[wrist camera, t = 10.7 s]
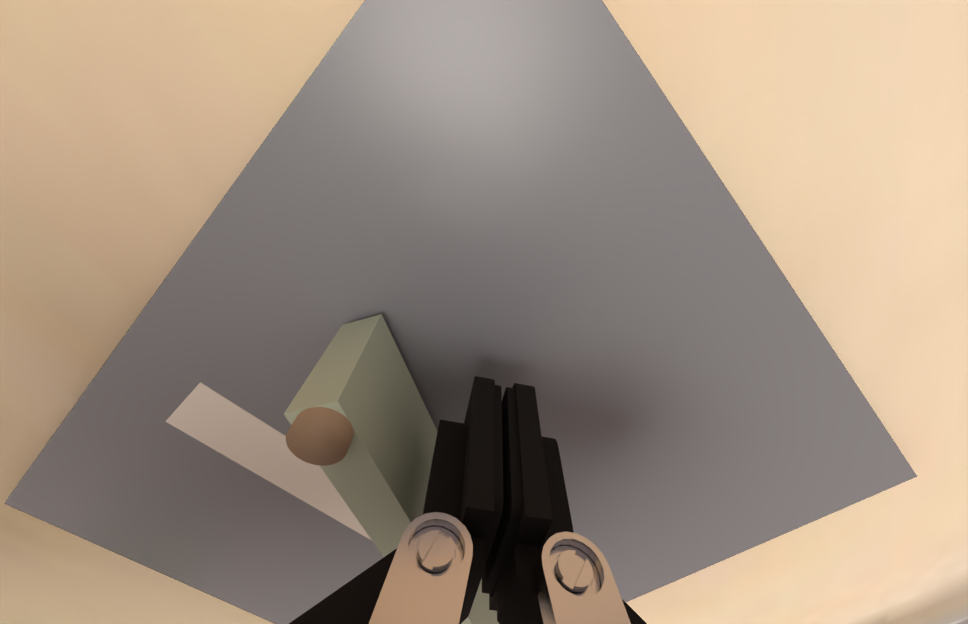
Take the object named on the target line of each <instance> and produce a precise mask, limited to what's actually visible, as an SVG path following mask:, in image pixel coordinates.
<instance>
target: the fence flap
mask: <svg viewBox="0 0 968 624" xmlns="http://www.w3.org/2000/svg"><path fill="white" fill-rule="evenodd" d="M284 415H285V417H286V418H287V420H288V421H289V423H290V424H291V427H290V428H289V430H288V432H287V434H286V444H287V446H288V448H289V450H290V451H291V452H292V453H293V454H294V455H295V456H296V457H297V458H299V459H300V460H302V461H304V462H307V463H310V464H313V465H319V466H320V467H321V468H322V470H323V471H324V473H325V474H326V476H327V477H328V478H329V480H330V481H331V483H332V484H333V486H334V487H335V488H336V490H337V491H338V493H339V494H340V496H341V497H342V498H343V500H344V501H345V503H346V504H347V506H348V507H349V508H350V510H351V511H352V513H353V514H354V516H355V517H356V518H357V520H358V521H359V523H360V524H361V526H362V527H363V528H364V530H365V531H366V533H367V534H368V536H369V537H370V538H371V540H372V541H373V543H374V544H375V546H376V547H377V548H378V550H379V551H380V553H381V554H382V556H383V557H385V556H386V555H388V554H389V553H391V552H392V551H394V550H395V549H396V548H398V545H399V542H400V540H401V537H402V535H403V533H404V531H405V529H406V528H407V526H408V525H409V524H410V523H411V522H412V521H413V520H414V519H415V518H417V517H419V516H421V515H423V509H424V503H425V498H426V492H427V486H428V481H429V475H430V469H431V464H432V458H433V453H434V447H435V442H436V437H437V432H438V431H437V429H436V427H435V425H434V423H433V421H432V419H431V417H430V415H429V412H428V410H427V408H426V406H425V404H424V402H423V400H422V398H421V396H420V394H419V392H418V389H417V387H416V385H415V383H414V381H413V379H412V377H411V375H410V373H409V371H408V368H407V366H406V364H405V362H404V360H403V358H402V356H401V354H400V352H399V350H398V348H397V345H396V343H395V341H394V339H393V337H392V335H391V333H390V331H389V329H388V327H387V324H386V322H385V320H384V318H383V316H382V314H380V315H377V316H373V317H369V318H365V319H362V320H358V321H354V322H351V323H347V324H343V325H342V326H341V327H340V329H339V330H338V332H337V333H336V335H335V336H334V338H333V340H332V341H331V343H330V344H329V346H328V347H327V349H326V350H325V352H324V353H323V355H322V356H321V358H320V359H319V361H318V362H317V364H316V365H315V367H314V368H313V370H312V372H311V373H310V375H309V376H308V378H307V379H306V381H305V382H304V384H303V385H302V387H301V388H300V390H299V391H298V393H297V394H296V396H295V397H294V399H293V400H292V402H291V403H290V405H289V407H288V408H287V410H286V411H285V413H284ZM461 624H499V622H498V621H497V611H494V610H489V594H486V593H482V579H481V581H480V584H479V587H478V590H477V593H476V596H475V599H474V602H473V605H472V608H471V610H470V613H469V616H468V617H467V618H466V619H465V620H464V621H463V622H462V623H461Z"/></svg>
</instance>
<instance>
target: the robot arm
mask: <svg viewBox="0 0 968 624" xmlns="http://www.w3.org/2000/svg"><path fill="white" fill-rule="evenodd" d="M481 579H482V593H486V594H489V610H494V611H497V621H498V622H499V624H647V623H646V622H645V621H644V620H643V619H642V618H641V617H640V616H639V615H638V614H637V613H636V612H635V611H634V610H633V609H632V608H631V607H630V606H629V605H628V604H627V603H626V602H625V601H624V600H623V599H622V598H621V596H620V593H619V590H618V588H617V585H616V582H615V580H614V577H613V575H612V572H611V569H610V567H609V564H608V562H607V560H606V559H605V557H604V555H603V553H602V552H601V551H600V550H599V549H598V547H597V546H596V545H595V544H594V543H592V542H591V541H590V540H588V539H587V538H586V537H583V536H581V535H579V534H577V533H574V531H573V525H572V520H571V514H570V509H569V503H568V497H567V492H566V486H565V481H564V475H563V470H562V464H561V459H560V453H559V448H558V443H557V441H556V439H554V438H548V437H542V436H541V429H540V421H539V414H538V407H537V399H536V392H535V387H534V386H529V385H523V384H518V383H514V385H513V387H512V388H510V387H506V389H505V392H504V395H503V399H502V391H501V386H499V385H495V380H494V379H489V378H483V377H478V376H475V378H474V382H473V386H472V390H471V395H470V399H469V403H468V407H467V412H466V416H465V420H464V423H458V422H452V421H446V420H440V421H439V426H438V432H437V437H436V442H435V447H434V453H433V458H432V464H431V469H430V475H429V481H428V486H427V492H426V498H425V503H424V509H423V515H421V516H419V517H417V518H415V519H414V520H413V521H412V522H411V523H410V524H409V525H408V526H407V528H406V529H405V531H404V533H403V535H402V537H401V540H400V542H399V545H398V548H396V549H395V550H394V551H392V552H391V553H389V554H388V555H386V556H385V557H384V558H382V559H381V560H379V561H378V562H376V563H375V564H373V565H372V566H371V567H369V568H368V569H366V570H365V571H363V572H362V573H361V574H359V575H358V576H356V577H355V578H353V579H352V580H351V581H349V582H348V583H346V584H345V585H343V586H342V587H341V588H339V589H338V590H336V591H335V592H333V593H332V594H331V595H329V596H328V597H326V598H325V599H323V600H322V601H320V602H319V603H318V604H316V605H315V606H313V607H312V608H310V609H309V610H308V611H306V612H305V613H303V614H302V615H300V616H299V617H298V618H296V619H295V620H293V621H292V622H290V623H289V624H461V623H462V622H463V621H464V620H465V619H466V618H467V617H468V616H469V613H470V610H471V608H472V605H473V602H474V599H475V596H476V593H477V590H478V587H479V584H480V581H481Z"/></svg>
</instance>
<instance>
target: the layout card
mask: <svg viewBox="0 0 968 624" xmlns="http://www.w3.org/2000/svg"><path fill="white" fill-rule="evenodd" d="M380 314H382V316H383V318H384V320H385V322H386V324H387V327H388V329H389V331H390V333H391V335H392V337H393V339H394V341H395V343H396V345H397V348H398V350H399V352H400V354H401V356H402V358H403V360H404V362H405V364H406V366H407V368H408V371H409V373H410V375H411V377H412V379H413V381H414V383H415V385H416V387H417V389H418V392H419V394H420V396H421V398H422V400H423V402H424V404H425V406H426V408H427V410H428V412H429V415H430V417H431V419H432V421H433V423H434V425H435V427H436V429H437V431H438V426H439V421H440V420H446V421H452V422H458V423H464V420H465V416H466V412H467V407H468V403H469V399H470V395H471V390H472V386H473V382H474V378H475V376H478V377H483V378H489V379H494V380H495V385H499V386H501V391H502V399H503V395H504V392H505V389H506V387H510V388H512V387H513V385H514V383H518V384H523V385H529V386H534V387H535V392H536V399H537V407H538V414H539V421H540V429H541V436H542V437H548V438H554V439H556V441H557V443H558V448H559V453H560V459H561V464H562V470H563V475H564V481H565V486H566V492H567V497H568V503H569V509H570V514H571V520H572V525H573V531H574V533H577V534H579V535H581V536H583V537H586V538H587V539H588V540H590V541H591V542H592V543H594V544H595V545H596V546H597V547H598V549H599V550H600V551H601V552H602V553H603V555H604V557H605V559H606V560H607V562H608V564H609V567H610V569H611V572H612V575H613V577H614V580H615V582H616V585H617V588H618V590H619V593H620V596H621V598H622V599H623V600H624V601H625V602H628V601H630V600H632V599H635V598H637V597H639V596H641V595H644V594H646V593H648V592H651V591H653V590H655V589H658V588H660V587H662V586H665V585H667V584H669V583H672V582H674V581H676V580H678V579H681V578H683V577H685V576H688V575H690V574H692V573H695V572H697V571H699V570H702V569H704V568H706V567H709V566H711V565H713V564H715V563H718V562H720V561H722V560H725V559H727V558H729V557H732V556H734V555H736V554H739V553H741V552H743V551H746V550H748V549H750V548H753V547H755V546H757V545H759V544H762V543H764V542H766V541H769V540H771V539H773V538H776V537H778V536H780V535H783V534H785V533H787V532H790V531H792V530H794V529H796V528H799V527H801V526H803V525H806V524H808V523H810V522H813V521H815V520H817V519H820V518H822V517H824V516H827V515H829V514H831V513H833V512H836V511H838V510H840V509H843V508H845V507H847V506H850V505H852V504H854V503H857V502H859V501H861V500H864V499H866V498H868V497H871V496H873V495H875V494H877V493H880V492H882V491H884V490H887V489H889V488H891V487H894V486H896V485H898V484H901V483H903V482H905V481H908V480H910V479H912V478H914V477H917V475H916V474H915V472H914V471H913V469H912V468H911V466H910V465H909V463H908V462H907V460H906V459H905V457H904V456H903V454H902V453H901V451H900V450H899V448H898V447H897V445H896V444H895V442H894V441H893V439H892V438H891V436H890V435H889V433H888V432H887V430H886V429H885V427H884V426H883V424H882V423H881V421H880V420H879V418H878V417H877V415H876V414H875V412H874V410H873V409H872V407H871V406H870V404H869V403H868V401H867V400H866V398H865V397H864V395H863V394H862V392H861V391H860V389H859V388H858V386H857V385H856V383H855V382H854V380H853V379H852V377H851V376H850V374H849V373H848V371H847V370H846V368H845V367H844V365H843V364H842V362H841V361H840V359H839V358H838V356H837V355H836V353H835V352H834V350H833V349H832V347H831V346H830V344H829V342H828V341H827V339H826V338H825V336H824V335H823V333H822V332H821V330H820V329H819V327H818V326H817V324H816V323H815V321H814V320H813V318H812V317H811V315H810V314H809V312H808V311H807V309H806V308H805V306H804V305H803V303H802V302H801V300H800V299H799V297H798V296H797V294H796V293H795V291H794V290H793V288H792V287H791V285H790V284H789V282H788V281H787V279H786V278H785V276H784V274H783V273H782V271H781V270H780V268H779V267H778V265H777V264H776V262H775V261H774V259H773V258H772V256H771V255H770V253H769V252H768V250H767V249H766V247H765V246H764V244H763V243H762V241H761V240H760V238H759V237H758V235H757V234H756V232H755V231H754V229H753V228H752V226H751V225H750V223H749V222H748V220H747V219H746V217H745V216H744V214H743V213H742V211H741V210H740V208H739V206H738V205H737V203H736V202H735V200H734V199H733V197H732V196H731V194H730V193H729V191H728V190H727V188H726V187H725V185H724V184H723V182H722V181H721V179H720V178H719V176H718V175H717V173H716V172H715V170H714V169H713V167H712V166H711V164H710V163H709V161H708V160H707V158H706V157H705V155H704V154H703V152H702V151H701V149H700V148H699V146H698V145H697V143H696V142H695V140H694V138H693V137H692V135H691V134H690V132H689V131H688V129H687V128H686V126H685V125H684V123H683V122H682V120H681V119H680V117H679V116H678V114H677V113H676V111H675V110H674V108H673V107H672V105H671V104H670V102H669V101H668V99H667V98H666V96H665V95H664V93H663V92H662V90H661V89H660V87H659V86H658V84H657V83H656V81H655V80H654V78H653V77H652V75H651V74H650V72H649V70H648V69H647V67H646V66H645V64H644V63H643V61H642V60H641V58H640V57H639V55H638V54H637V52H636V51H635V49H634V48H633V46H632V45H631V43H630V42H629V40H628V39H627V37H626V36H625V34H624V33H623V31H622V30H621V28H620V27H619V25H618V24H617V22H616V21H615V19H614V18H613V16H612V15H611V13H610V12H609V10H608V9H607V7H606V6H605V4H604V2H603V1H602V0H365V1H364V2H363V4H362V5H361V6H360V8H359V9H358V11H357V12H356V13H355V15H354V16H353V18H352V19H351V20H350V22H349V23H348V25H347V26H346V27H345V29H344V30H343V32H342V33H341V34H340V36H339V37H338V39H337V40H336V41H335V43H334V44H333V46H332V47H331V48H330V50H329V51H328V53H327V54H326V55H325V57H324V58H323V59H322V61H321V62H320V64H319V65H318V66H317V68H316V69H315V71H314V72H313V73H312V75H311V76H310V78H309V79H308V80H307V82H306V83H305V85H304V86H303V87H302V89H301V90H300V92H299V93H298V94H297V96H296V97H295V99H294V100H293V101H292V103H291V104H290V106H289V107H288V108H287V110H286V111H285V112H284V114H283V115H282V117H281V118H280V119H279V121H278V122H277V124H276V125H275V126H274V128H273V129H272V131H271V132H270V133H269V135H268V136H267V138H266V139H265V140H264V142H263V143H262V145H261V146H260V147H259V149H258V150H257V152H256V153H255V154H254V156H253V157H252V159H251V160H250V161H249V163H248V164H247V165H246V167H245V168H244V170H243V171H242V172H241V174H240V175H239V177H238V178H237V179H236V181H235V182H234V184H233V185H232V186H231V188H230V189H229V191H228V192H227V193H226V195H225V196H224V198H223V199H222V200H221V202H220V203H219V205H218V206H217V207H216V209H215V210H214V211H213V213H212V214H211V216H210V217H209V218H208V220H207V221H206V223H205V224H204V225H203V227H202V228H201V230H200V231H199V232H198V234H197V235H196V237H195V238H194V239H193V241H192V242H191V244H190V245H189V246H188V248H187V249H186V251H185V252H184V253H183V255H182V256H181V258H180V259H179V260H178V262H177V263H176V264H175V266H174V267H173V269H172V270H171V271H170V273H169V274H168V276H167V277H166V278H165V280H164V281H163V283H162V284H161V285H160V287H159V288H158V290H157V291H156V292H155V294H154V295H153V297H152V298H151V299H150V301H149V302H148V304H147V305H146V306H145V308H144V309H143V311H142V312H141V313H140V315H139V316H138V317H137V319H136V320H135V322H134V323H133V324H132V326H131V327H130V329H129V330H128V331H127V333H126V334H125V336H124V337H123V338H122V340H121V341H120V343H119V344H118V345H117V347H116V348H115V350H114V351H113V352H112V354H111V355H110V357H109V358H108V359H107V361H106V362H105V364H104V365H103V366H102V368H101V369H100V370H99V372H98V373H97V375H96V376H95V377H94V379H93V380H92V382H91V383H90V384H89V386H88V387H87V389H86V390H85V391H84V393H83V394H82V396H81V397H80V398H79V400H78V401H77V403H76V404H75V405H74V407H73V408H72V410H71V411H70V412H69V414H68V415H67V417H66V418H65V419H64V421H63V422H62V423H61V425H60V426H59V428H58V429H57V430H56V432H55V433H54V435H53V436H52V437H51V439H50V440H49V442H48V443H47V444H46V446H45V447H44V449H43V450H42V451H41V453H40V454H39V456H38V457H37V458H36V460H35V461H34V463H33V464H32V465H31V467H30V468H29V470H28V471H27V472H26V474H25V475H24V476H23V478H22V479H21V481H20V482H19V483H18V485H17V486H16V488H15V489H14V490H13V492H12V493H11V495H10V496H9V497H8V499H7V500H6V502H5V503H4V504H6V505H9V506H11V507H13V508H15V509H18V510H20V511H22V512H25V513H27V514H29V515H31V516H34V517H36V518H38V519H40V520H43V521H45V522H47V523H49V524H52V525H54V526H56V527H58V528H61V529H63V530H65V531H67V532H70V533H72V534H74V535H76V536H79V537H81V538H83V539H85V540H88V541H90V542H92V543H94V544H97V545H99V546H101V547H103V548H106V549H108V550H110V551H112V552H115V553H117V554H119V555H121V556H124V557H126V558H128V559H130V560H133V561H135V562H137V563H139V564H142V565H144V566H146V567H148V568H151V569H153V570H155V571H157V572H160V573H162V574H164V575H166V576H169V577H171V578H173V579H175V580H178V581H180V582H182V583H184V584H187V585H189V586H191V587H193V588H196V589H198V590H200V591H202V592H205V593H207V594H209V595H211V596H214V597H216V598H218V599H220V600H223V601H225V602H227V603H229V604H232V605H234V606H236V607H238V608H241V609H243V610H245V611H247V612H250V613H252V614H254V615H256V616H259V617H261V618H263V619H266V620H268V621H270V622H272V623H275V624H289V623H290V622H292V621H293V620H295V619H296V618H298V617H299V616H300V615H302V614H303V613H305V612H306V611H308V610H309V609H310V608H312V607H313V606H315V605H316V604H318V603H319V602H320V601H322V600H323V599H325V598H326V597H328V596H329V595H331V594H332V593H333V592H335V591H336V590H338V589H339V588H341V587H342V586H343V585H345V584H346V583H348V582H349V581H351V580H352V579H353V578H355V577H356V576H358V575H359V574H361V573H362V572H363V571H365V570H366V569H368V568H369V567H371V566H372V565H373V564H375V563H376V562H378V561H379V560H381V559H382V558H384V557H383V556H382V554H381V553H380V551H379V550H378V548H377V547H376V546H375V544H374V543H373V541H372V540H371V538H370V537H369V536H368V534H367V533H366V531H365V530H364V528H363V527H362V526H361V524H360V523H359V521H358V520H357V518H356V517H355V516H354V514H353V513H352V511H351V510H350V508H349V507H348V506H347V504H346V503H345V501H344V500H343V498H342V497H341V496H340V494H339V493H338V491H337V490H336V488H335V487H334V486H333V484H332V483H331V481H330V480H329V478H328V477H327V476H326V474H325V473H324V471H323V470H322V468H321V467H320V466H319V465H313V464H310V463H307V462H304V461H302V460H300V459H299V458H297V457H296V456H295V455H294V454H293V453H292V452H291V451H290V450H289V448H288V446H287V444H286V434H287V432H288V430H289V428H290V427H291V424H290V423H289V421H288V420H287V418H286V417H285V415H284V413H285V411H286V410H287V408H288V407H289V405H290V403H291V402H292V400H293V399H294V397H295V396H296V394H297V393H298V391H299V390H300V388H301V387H302V385H303V384H304V382H305V381H306V379H307V378H308V376H309V375H310V373H311V372H312V370H313V368H314V367H315V365H316V364H317V362H318V361H319V359H320V358H321V356H322V355H323V353H324V352H325V350H326V349H327V347H328V346H329V344H330V343H331V341H332V340H333V338H334V336H335V335H336V333H337V332H338V330H339V329H340V327H341V326H342V325H343V324H347V323H351V322H354V321H358V320H362V319H365V318H369V317H373V316H377V315H380Z"/></svg>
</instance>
